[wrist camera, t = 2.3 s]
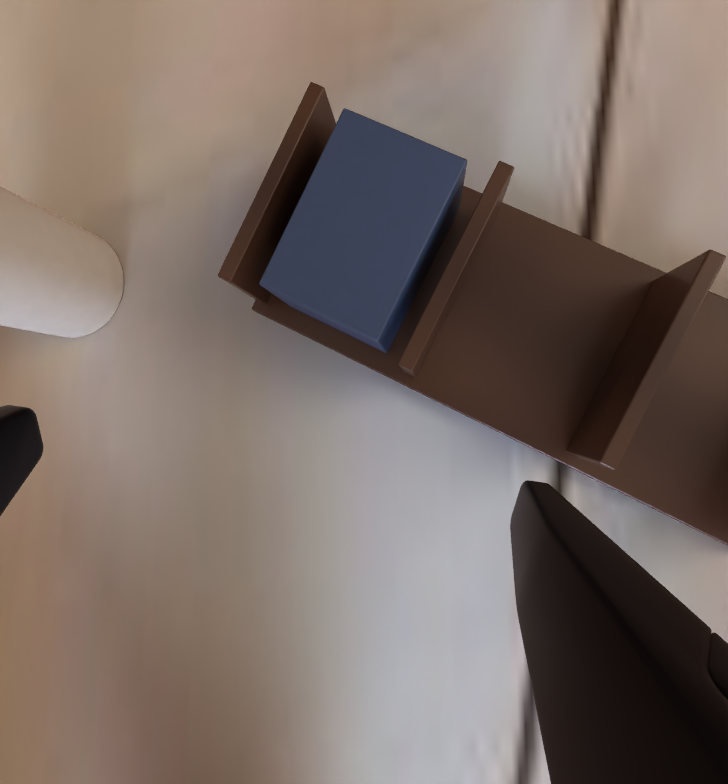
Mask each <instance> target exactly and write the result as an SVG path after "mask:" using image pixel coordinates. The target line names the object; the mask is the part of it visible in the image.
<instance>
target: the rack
mask: <svg viewBox="0 0 728 784" xmlns="http://www.w3.org/2000/svg"><path fill="white" fill-rule="evenodd" d="M335 126H336V122H335V119H334V116H333V113H332V110H331V107H330V104H329V101H328V98H327V95H326V91H325V88H324V87H322V86H320V85H317V84H315V83H313V82H311V83H310V85H309V87H308V89H307V91H306V93H305V95H304V97H303V99H302V101H301V103H300V105H299V107H298V109H297V112H296V114H295V116H294V118H293V120H292V122H291V124H290V126H289V128H288V130H287V132H286V134H285V137H284V139H283V141H282V143H281V145H280V147H279V149H278V151H277V153H276V155H275V157H274V159H273V161H272V164H271V166H270V168H269V170H268V172H267V174H266V176H265V178H264V180H263V182H262V184H261V186H260V189H259V191H258V193H257V195H256V197H255V199H254V201H253V203H252V205H251V207H250V209H249V211H248V213H247V216H246V218H245V220H244V222H243V224H242V226H241V228H240V230H239V232H238V234H237V236H236V238H235V240H234V243H233V245H232V247H231V249H230V251H229V253H228V255H227V257H226V259H225V261H224V263H223V265H222V268H221V270H220V272H219V274H218V276H219V277H220V278H222V279H223V280H225V281H227V282H228V283H230V284H232V285H233V286H235V287H237V288H238V289H240V290H241V291H243V292H245V293H246V294H248V295H250V296H251V297H253V298H255V299H256V301H255V303H254V305H253V307H252V310H254V311H256V312H257V313H259V314H261V315H263V316H266V317H268V318H270V319H272V320H274V321H276V322H278V323H280V324H282V325H284V326H286V327H288V328H290V329H292V330H294V331H296V332H298V333H300V334H302V335H304V336H306V337H308V338H310V339H312V340H314V341H316V342H318V343H320V344H322V345H324V346H326V347H328V348H330V349H332V350H334V351H336V352H338V353H340V354H342V355H344V356H346V357H348V358H350V359H352V360H354V361H356V362H358V363H360V364H362V365H365V366H367V367H369V368H371V369H373V370H375V371H377V372H379V373H381V374H383V375H385V376H387V377H389V378H391V379H393V380H395V381H397V382H399V383H401V384H403V385H405V386H407V387H409V388H411V389H413V390H415V391H417V392H419V393H421V394H423V395H425V396H427V397H429V398H431V399H433V400H435V401H437V402H439V403H441V404H443V405H445V406H447V407H449V408H451V409H453V410H455V411H457V412H459V413H461V414H464V415H466V416H468V417H470V418H472V419H474V420H476V421H478V422H480V423H482V424H484V425H486V426H488V427H490V428H492V429H494V430H496V431H498V432H500V433H502V434H504V435H506V436H508V437H510V438H512V439H514V440H516V441H518V442H520V443H522V444H524V445H526V446H528V447H530V448H532V449H534V450H536V451H538V452H540V453H542V454H544V455H546V456H548V457H550V458H552V459H554V460H556V461H558V462H560V463H563V464H565V465H567V466H569V467H571V468H573V469H575V470H577V471H579V472H581V473H583V474H585V475H587V476H589V477H591V478H593V479H595V480H597V481H599V482H601V483H603V484H605V485H607V486H609V487H611V488H613V489H615V490H617V491H619V492H621V493H623V494H625V495H627V496H629V497H631V498H633V499H635V500H637V501H639V502H641V503H643V504H645V505H647V506H649V507H651V508H653V509H655V510H657V511H659V512H662V513H664V514H666V515H668V516H670V517H672V518H674V519H676V520H678V521H680V522H682V523H684V524H686V525H688V526H690V527H692V528H694V529H696V530H698V531H700V532H702V533H704V534H706V535H708V536H710V537H712V538H714V539H716V540H718V541H720V542H722V543H724V544H726V545H728V299H725V298H723V297H721V296H718V295H716V294H714V293H712V292H709V289H710V287H711V285H712V283H713V281H714V279H715V277H716V276H717V274H718V272H719V270H720V268H721V266H722V264H723V262H724V260H725V258H726V256H725V255H722V254H720V253H718V252H715V251H713V250H708V251H706V252H704V253H703V254H701V255H699V256H697V257H695V258H694V259H692V260H690V261H688V262H686V263H684V264H683V265H681V266H679V267H677V268H675V269H674V270H672V271H670V272H668V273H665V272H663V271H660V270H658V269H656V268H653V267H651V266H649V265H646V264H644V263H642V262H640V261H637V260H635V259H633V258H630V257H628V256H626V255H623V254H621V253H619V252H616V251H614V250H612V249H609V248H607V247H605V246H602V245H600V244H598V243H595V242H593V241H591V240H588V239H586V238H584V237H581V236H579V235H577V234H574V233H572V232H570V231H568V230H565V229H563V228H561V227H558V226H556V225H554V224H551V223H549V222H547V221H544V220H542V219H540V218H537V217H535V216H533V215H530V214H528V213H526V212H523V211H521V210H519V209H516V208H514V207H512V206H509V205H507V204H505V203H502V201H503V198H504V195H505V192H506V190H507V187H508V184H509V181H510V179H511V176H512V173H513V170H514V167H513V166H511V165H508V164H506V163H504V162H501V161H499V162H498V164H497V166H496V168H495V170H494V172H493V174H492V176H491V178H490V180H489V182H488V184H487V186H486V188H485V190H484V192H483V194H482V193H479V192H477V191H475V190H472V189H470V188H468V187H465V186H463V191H462V197H461V203H460V208H459V210H458V212H457V214H456V216H455V218H454V220H453V222H452V224H451V226H450V228H449V230H448V232H447V234H446V236H445V238H444V240H443V242H442V244H441V246H440V248H439V250H438V252H437V254H436V256H435V258H434V260H433V262H432V264H431V266H430V268H429V270H428V272H427V274H426V276H425V278H424V280H423V282H422V284H421V286H420V288H419V290H418V292H417V294H416V296H415V299H414V301H413V303H412V305H411V307H410V309H409V311H408V313H407V315H406V317H405V319H404V321H403V323H402V325H401V327H400V329H399V331H398V333H397V335H396V337H395V339H394V341H393V343H392V345H391V347H390V349H389V351H388V352H387V353H385V352H383V351H381V350H379V349H376V348H374V347H372V346H370V345H368V344H366V343H364V342H362V341H360V340H358V339H356V338H354V337H352V336H350V335H348V334H346V333H344V332H342V331H340V330H338V329H336V328H333V327H331V326H329V325H327V324H325V323H323V322H321V321H319V320H317V319H315V318H313V317H311V316H309V315H307V314H305V313H303V312H301V311H299V310H297V309H295V308H293V307H290V306H289V305H288V304H286V303H285V302H283V301H282V300H281V299H279V298H278V297H276V296H275V295H274V294H272V293H271V292H269V291H268V290H266V289H265V288H264V287H262V286H261V285H260V284H259V283H260V280H261V278H262V276H263V274H264V272H265V270H266V268H267V266H268V264H269V262H270V260H271V258H272V256H273V254H274V252H275V249H276V247H277V245H278V243H279V241H280V239H281V237H282V235H283V233H284V231H285V229H286V227H287V225H288V223H289V221H290V219H291V216H292V214H293V212H294V210H295V208H296V206H297V204H298V202H299V200H300V198H301V196H302V194H303V192H304V190H305V188H306V185H307V183H308V181H309V179H310V177H311V175H312V173H313V171H314V169H315V167H316V165H317V163H318V161H319V159H320V157H321V155H322V152H323V150H324V148H325V146H326V144H327V142H328V140H329V138H330V136H331V134H332V132H333V130H334V128H335Z"/></svg>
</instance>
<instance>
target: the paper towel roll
mask: <svg viewBox="0 0 728 784" xmlns="http://www.w3.org/2000/svg"><path fill="white" fill-rule="evenodd" d="M123 285H124V280H123V271H122V267H121V264H120V261H119V259H118V257H117V255H116V253H115V252H114V250H113V249H112V248H111V246H110V245H109V244H108V243H107V242H106V241H104V240H103V239H102V238H100V237H99V236H97V235H95V234H93V233H91V232H89V231H87V230H85V229H83V228H81V227H79V226H77V225H75V224H73V223H71V222H69V221H67V220H65V219H63V218H61V217H59V216H57V215H55V214H53V213H51V212H49V211H47V210H45V209H44V208H42V207H40V206H38V205H36V204H34V203H32V202H30V201H28V200H26V199H24V198H22V197H20V196H18V195H16V194H14V193H12V192H10V191H8V190H6V189H4V188H2V187H0V325H1V326H7V327H12V328H18V329H23V330H28V331H34V332H39V333H45V334H50V335H55V336H61V337H68V338H76V337H82V336H86V335H88V334H91V333H93V332H95V331H97V330H98V329H100V328H101V327H103V326H104V325H105V324H106V323H107V322H108V321H109V320H110V319H111V317H112V316H113V315H114V313H115V311H116V310H117V308H118V306H119V303H120V300H121V297H122V293H123Z"/></svg>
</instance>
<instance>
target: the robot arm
mask: <svg viewBox="0 0 728 784" xmlns="http://www.w3.org/2000/svg"><path fill="white" fill-rule="evenodd" d="M42 453H43V442H42V438H41V434H40V430H39V425H38V421H37V417H36V414H35V413H34V411H33V410H31V409H30V408H26V407H19V406H12V405H7V406H2V407H0V516H1V514H2V513H3V511H4V510H5V509H6V507H7V506H8V504H9V503H10V501H11V500H12V499H13V497H14V496H15V494H16V493H17V491H18V490H19V488H20V487H21V486H22V484H23V483H24V481H25V480H26V478H27V477H28V476H29V474H30V473H31V471H32V470H33V468H34V467H35V466H36V464H37V463H38V461H39V460H40V458H41V456H42ZM510 530H511V543H512V556H513V569H514V582H515V595H516V605H517V612H518V618H519V624H520V629H521V634H522V639H523V644H524V649H525V654H526V659H527V664H528V669H529V674H530V679H531V684H532V689H533V694H534V699H535V704H536V710H537V715H538V720H539V725H540V730H541V735H542V740H543V745H544V750H545V755H546V760H547V765H548V770H549V775H550V780H551V784H728V643H727V642H725V641H724V640H723V639H722V638H721V637H720V636H719V635H718V634H716V633H712V634H711V629H710V627H708V626H707V625H706V624H705V623H704V622H703V621H702V620H701V619H699V618H698V617H697V616H696V615H695V614H694V613H693V612H692V611H690V610H689V609H688V608H687V607H686V606H685V605H684V604H683V603H682V602H680V601H679V600H678V599H677V598H676V597H675V596H674V595H673V594H671V593H670V592H669V591H668V590H667V589H666V588H665V587H664V586H662V585H661V584H660V583H659V582H658V581H657V580H656V579H655V578H654V577H652V576H651V575H650V574H649V573H648V572H647V571H646V570H645V569H643V568H642V567H641V566H640V565H639V564H638V563H637V562H636V561H634V560H633V559H632V558H631V557H630V556H629V555H628V554H627V553H625V552H624V551H623V550H622V549H621V548H620V547H619V546H618V545H617V544H615V543H614V542H613V541H612V540H611V539H610V538H609V537H608V536H606V535H605V534H604V533H603V532H602V531H601V530H600V529H599V528H597V527H596V526H595V525H594V524H593V523H592V522H591V521H590V520H589V519H587V518H586V517H585V516H584V515H583V514H582V513H581V512H580V511H578V510H577V509H576V508H575V507H574V506H573V505H572V504H571V503H569V502H568V501H567V500H566V499H565V498H564V497H563V496H562V495H560V494H559V493H558V492H557V491H556V490H555V489H554V488H553V487H552V486H550V485H549V484H547V483H542V482H535V481H525V482H523V484H522V486H521V488H520V491H519V494H518V497H517V501H516V504H515V507H514V510H513V513H512V517H511V524H510Z"/></svg>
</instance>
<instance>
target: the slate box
mask: <svg viewBox="0 0 728 784" xmlns="http://www.w3.org/2000/svg"><path fill="white" fill-rule="evenodd" d="M466 165H467V160H466V159H464V158H461V157H459V156H457V155H454V154H452V153H450V152H447V151H445V150H442V149H440V148H438V147H435V146H433V145H431V144H428V143H426V142H424V141H421V140H419V139H416V138H414V137H412V136H409V135H407V134H405V133H402V132H400V131H398V130H395V129H393V128H390V127H388V126H386V125H383V124H381V123H379V122H376V121H374V120H372V119H369V118H367V117H364V116H362V115H360V114H357V113H355V112H353V111H350V110H348V109H346V108H344V109H343V111H342V113H341V115H340V117H339V119H338V121H337V124H336V126H335V128H334V130H333V132H332V134H331V136H330V138H329V140H328V142H327V144H326V146H325V148H324V150H323V152H322V155H321V157H320V159H319V161H318V163H317V165H316V167H315V169H314V171H313V173H312V175H311V177H310V179H309V181H308V183H307V185H306V188H305V190H304V192H303V194H302V196H301V198H300V200H299V202H298V204H297V206H296V208H295V210H294V212H293V214H292V216H291V219H290V221H289V223H288V225H287V227H286V229H285V231H284V233H283V235H282V237H281V239H280V241H279V243H278V245H277V247H276V249H275V252H274V254H273V256H272V258H271V260H270V262H269V264H268V266H267V268H266V270H265V272H264V274H263V276H262V278H261V280H260V283H259V284H260V285H261V286H262V287H264V288H265V289H266V290H268V291H269V292H271V293H272V294H274V295H275V296H276V297H278V298H279V299H281V300H282V301H283V302H285V303H286V304H288V305H289V306H290V307H293V308H295V309H297V310H299V311H301V312H303V313H305V314H307V315H309V316H311V317H313V318H315V319H317V320H319V321H321V322H323V323H325V324H327V325H329V326H331V327H333V328H336V329H338V330H340V331H342V332H344V333H346V334H348V335H350V336H352V337H354V338H356V339H358V340H360V341H362V342H364V343H366V344H368V345H370V346H372V347H374V348H376V349H379V350H381V351H383V352H385V353H387V352H388V351H389V349H390V347H391V345H392V343H393V341H394V339H395V337H396V335H397V333H398V331H399V329H400V327H401V325H402V323H403V321H404V319H405V317H406V315H407V313H408V311H409V309H410V307H411V305H412V303H413V301H414V299H415V296H416V294H417V292H418V290H419V288H420V286H421V284H422V282H423V280H424V278H425V276H426V274H427V272H428V270H429V268H430V266H431V264H432V262H433V260H434V258H435V256H436V254H437V252H438V250H439V248H440V246H441V244H442V242H443V240H444V238H445V236H446V234H447V232H448V230H449V228H450V226H451V224H452V222H453V220H454V218H455V216H456V214H457V212H458V210H459V208H460V203H461V197H462V191H463V184H464V178H465V172H466Z"/></svg>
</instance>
